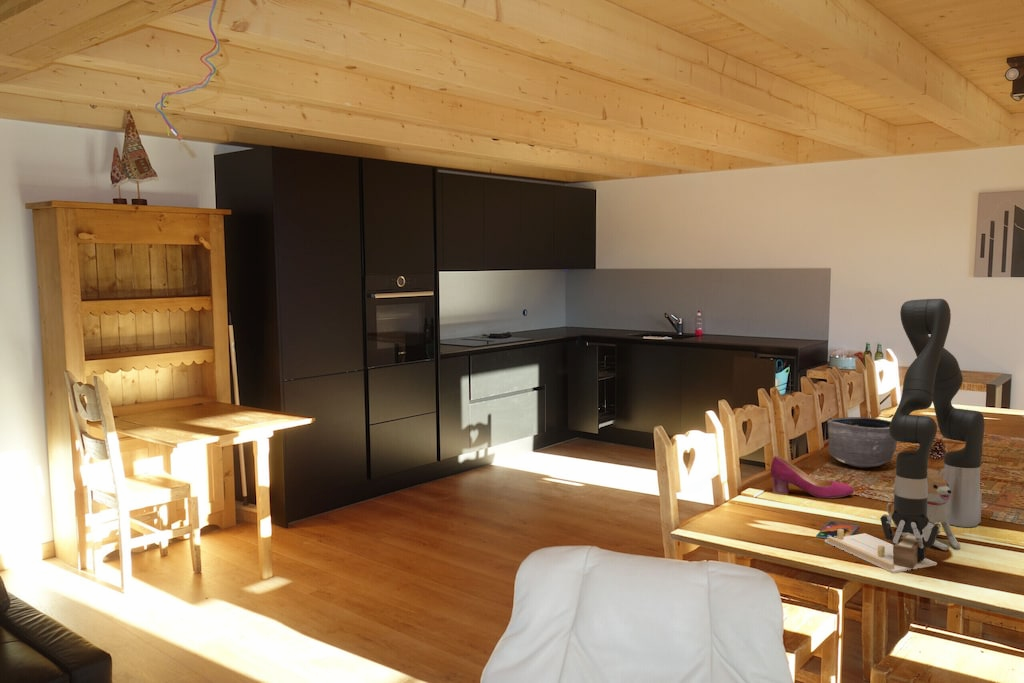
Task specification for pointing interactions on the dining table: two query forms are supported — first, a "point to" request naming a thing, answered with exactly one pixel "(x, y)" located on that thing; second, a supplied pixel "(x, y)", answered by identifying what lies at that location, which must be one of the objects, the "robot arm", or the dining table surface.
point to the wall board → (872, 550)
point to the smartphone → (833, 526)
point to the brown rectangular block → (906, 552)
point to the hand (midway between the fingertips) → (908, 558)
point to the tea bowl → (860, 441)
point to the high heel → (804, 481)
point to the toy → (936, 508)
